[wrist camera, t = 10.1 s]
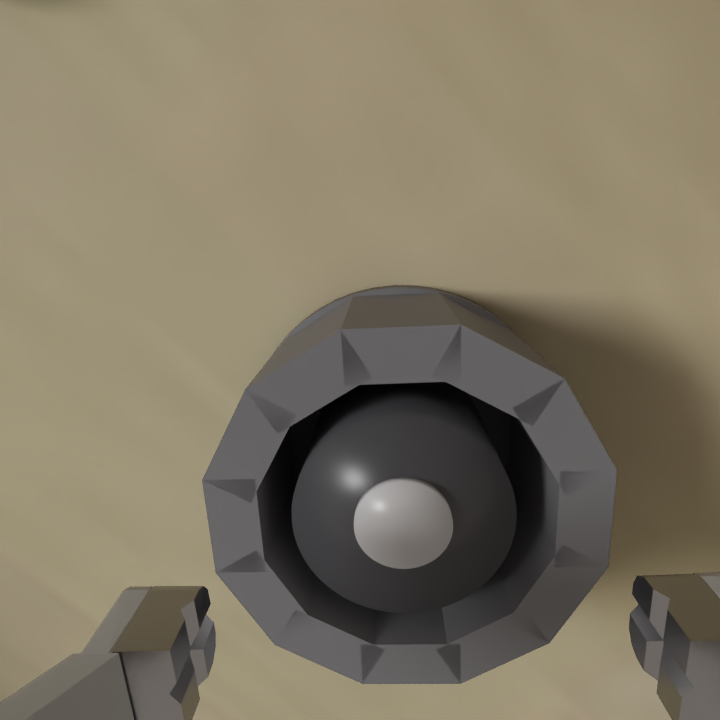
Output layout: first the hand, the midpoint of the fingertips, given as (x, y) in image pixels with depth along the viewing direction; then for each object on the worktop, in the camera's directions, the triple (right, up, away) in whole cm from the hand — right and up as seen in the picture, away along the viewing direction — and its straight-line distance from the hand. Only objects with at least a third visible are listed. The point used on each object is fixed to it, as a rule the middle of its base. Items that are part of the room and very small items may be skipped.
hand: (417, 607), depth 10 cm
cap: (0, +2, +9) cm, 9 cm away
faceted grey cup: (0, +2, +9) cm, 10 cm away
